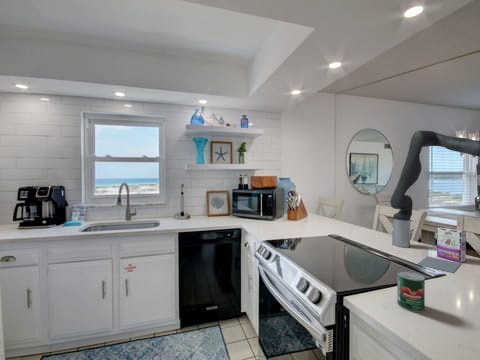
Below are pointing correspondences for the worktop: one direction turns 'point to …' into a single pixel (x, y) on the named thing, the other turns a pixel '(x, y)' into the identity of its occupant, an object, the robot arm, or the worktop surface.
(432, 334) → the worktop surface
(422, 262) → the rubber mat
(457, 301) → the worktop surface
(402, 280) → the canned tomato
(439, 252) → the candy bar box
